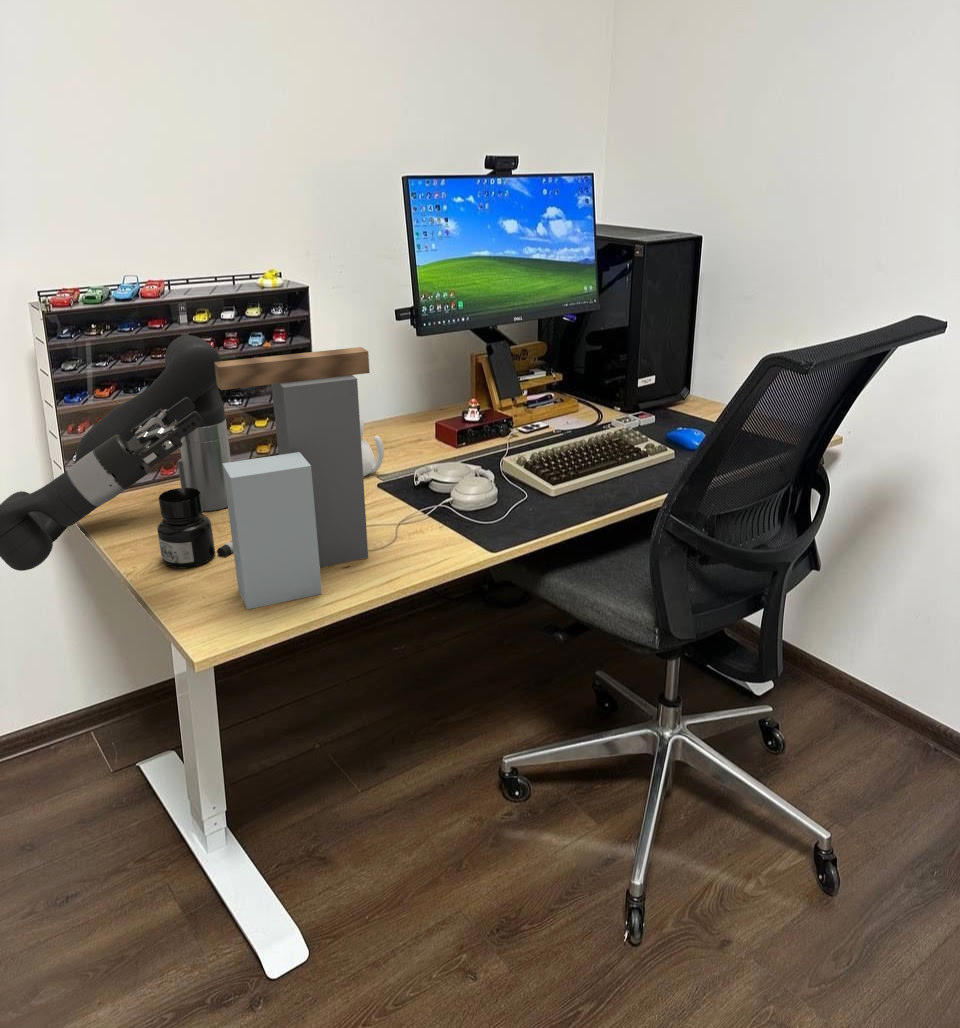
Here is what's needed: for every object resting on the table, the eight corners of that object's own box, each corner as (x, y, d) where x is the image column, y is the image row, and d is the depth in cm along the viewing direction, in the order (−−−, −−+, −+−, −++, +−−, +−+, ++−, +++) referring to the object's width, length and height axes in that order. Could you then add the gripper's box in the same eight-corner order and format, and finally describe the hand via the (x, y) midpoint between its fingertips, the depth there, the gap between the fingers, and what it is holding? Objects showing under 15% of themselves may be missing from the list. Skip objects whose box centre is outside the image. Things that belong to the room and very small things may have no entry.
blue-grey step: (247, 609, 139) (230, 478, 130) (238, 590, 145) (222, 463, 136) (322, 593, 143) (311, 465, 135) (310, 575, 149) (299, 452, 141)
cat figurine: (337, 465, 199) (331, 400, 193) (391, 467, 197) (387, 402, 191) (324, 479, 191) (317, 412, 185) (380, 482, 189) (375, 414, 183)
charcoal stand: (300, 570, 151) (283, 387, 138) (288, 550, 158) (270, 374, 146) (368, 557, 156) (357, 378, 143) (352, 538, 163) (341, 366, 150)
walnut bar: (220, 390, 137) (218, 367, 136) (216, 384, 140) (214, 362, 139) (369, 373, 146) (368, 351, 145) (362, 368, 149) (361, 347, 148)
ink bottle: (151, 559, 156) (140, 495, 151) (195, 542, 162) (186, 481, 157) (182, 575, 150) (172, 509, 145) (226, 557, 156) (218, 494, 151)
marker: (226, 559, 156) (224, 548, 155) (217, 557, 157) (216, 546, 156) (280, 526, 169) (279, 517, 168) (271, 525, 170) (270, 515, 169)
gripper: (120, 474, 144) (203, 415, 146) (128, 505, 132) (218, 440, 134) (88, 439, 140) (174, 378, 142) (93, 467, 128) (187, 401, 130)
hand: (195, 408), depth 138 cm, fingers open, 8 cm apart
